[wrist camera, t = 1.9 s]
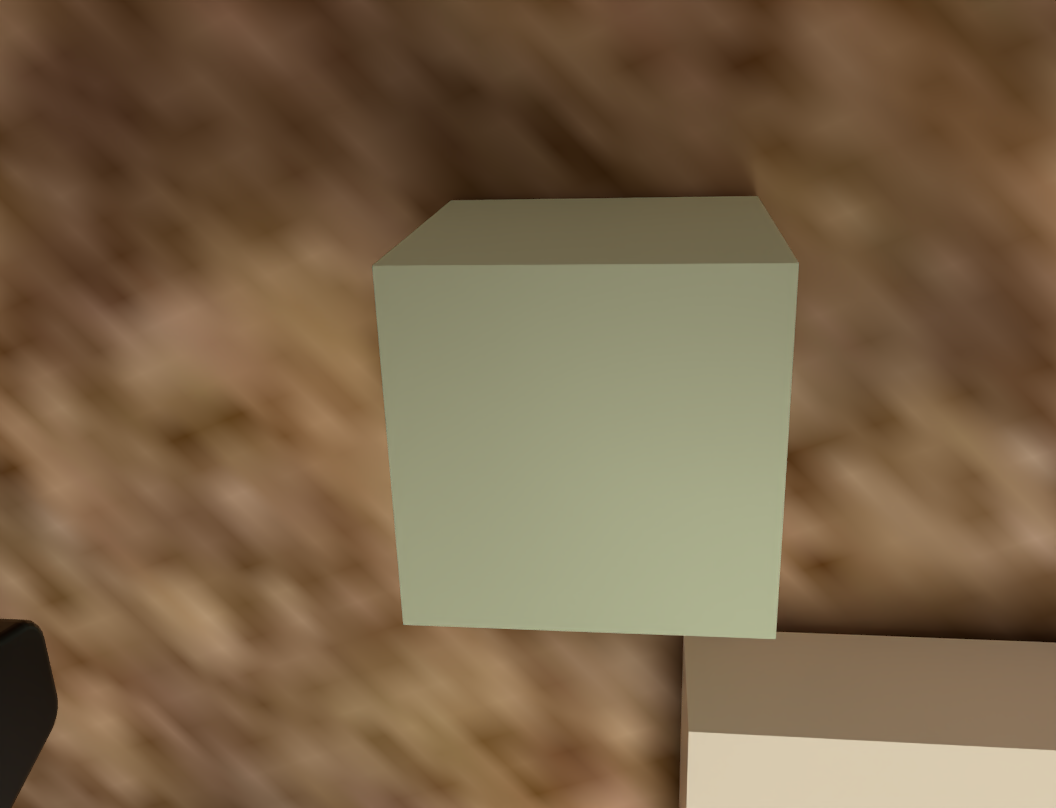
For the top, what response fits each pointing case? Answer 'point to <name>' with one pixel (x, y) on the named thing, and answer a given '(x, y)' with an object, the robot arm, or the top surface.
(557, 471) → the cube
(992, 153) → the top surface
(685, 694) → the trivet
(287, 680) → the top surface
